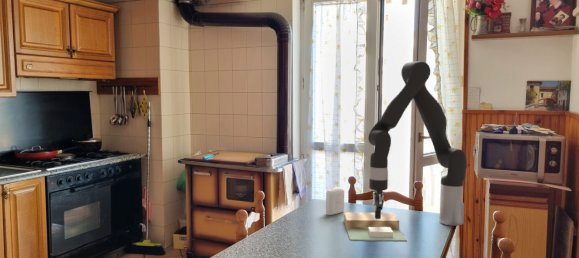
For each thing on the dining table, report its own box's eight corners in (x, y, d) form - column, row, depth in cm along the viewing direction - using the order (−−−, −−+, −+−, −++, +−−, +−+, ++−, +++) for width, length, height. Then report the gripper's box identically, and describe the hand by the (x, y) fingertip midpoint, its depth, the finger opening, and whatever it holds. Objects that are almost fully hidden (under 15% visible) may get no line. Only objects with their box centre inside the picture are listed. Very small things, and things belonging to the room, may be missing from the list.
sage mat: (399, 230, 182) (399, 229, 182) (406, 241, 169) (406, 240, 169) (346, 229, 183) (346, 228, 183) (350, 240, 170) (350, 239, 170)
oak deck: (393, 221, 194) (393, 212, 194) (399, 230, 182) (399, 220, 182) (343, 221, 195) (344, 212, 195) (346, 229, 183) (346, 220, 183)
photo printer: (338, 210, 213) (338, 185, 212) (345, 211, 210) (345, 186, 209) (324, 214, 206) (324, 188, 205) (331, 216, 203) (331, 190, 202)
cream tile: (393, 231, 173) (393, 236, 173) (390, 227, 179) (390, 231, 179) (370, 231, 173) (370, 236, 173) (368, 226, 179) (368, 231, 179)
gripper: (390, 181, 174) (389, 223, 175) (384, 174, 187) (383, 214, 188) (371, 180, 174) (371, 223, 175) (367, 174, 187) (366, 213, 189)
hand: (377, 218), depth 182 cm, fingers closed
